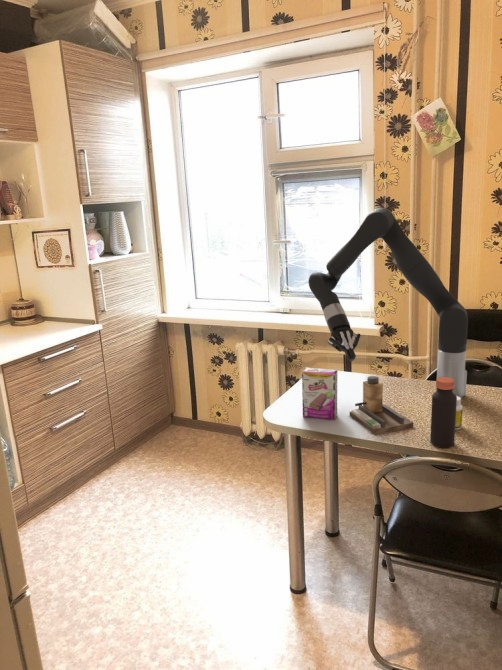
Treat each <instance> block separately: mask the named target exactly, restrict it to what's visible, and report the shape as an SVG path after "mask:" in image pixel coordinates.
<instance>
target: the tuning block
mask: <svg viewBox="0 0 502 670" xmlns="http://www.w3.org/2000/svg"><path fill="white" fill-rule="evenodd" d="M379 379H380V378H379V376H375V375H369V376H368V377H367V380H366V381H363V382H362V402H357V403H355V405H354V406H355V407H359V405H362V406H364V407H365V408H367V409H368V410H370V411H371V412H372V413H377V412H382V404H383V402H384V401H383V400H384V399H383V398H384V396H383V395H384V389H383V388H384V387H383V386H384V383H383V382H382V381H380V380H379Z"/></svg>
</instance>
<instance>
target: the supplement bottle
mask: <svg viewBox="0 0 502 670" xmlns="http://www.w3.org/2000/svg"><path fill="white" fill-rule="evenodd" d="M456 397H457V405H456V423H455V431H458V430H460V429H462V425H463V413H464V412H463V410H464V406H463V405H462V404H461V403H462V398H460V397H458V396H456Z"/></svg>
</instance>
